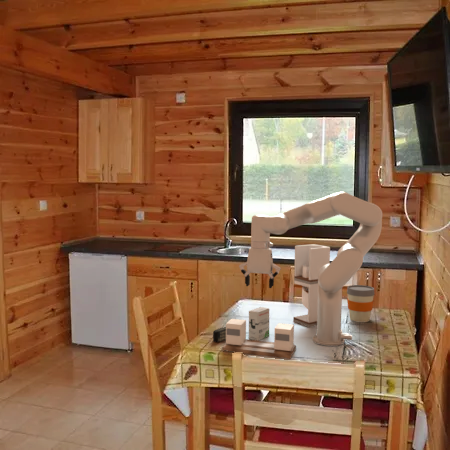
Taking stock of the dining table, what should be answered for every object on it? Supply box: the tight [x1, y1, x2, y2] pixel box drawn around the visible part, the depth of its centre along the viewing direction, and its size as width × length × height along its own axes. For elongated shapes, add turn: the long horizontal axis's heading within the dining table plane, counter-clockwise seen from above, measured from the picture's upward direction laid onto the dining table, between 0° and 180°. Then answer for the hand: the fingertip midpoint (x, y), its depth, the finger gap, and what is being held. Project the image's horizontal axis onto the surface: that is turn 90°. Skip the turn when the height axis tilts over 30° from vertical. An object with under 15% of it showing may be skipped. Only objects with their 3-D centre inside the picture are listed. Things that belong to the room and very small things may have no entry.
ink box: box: [248, 306, 270, 341], centre depth 216 cm, size 9×5×12 cm, turn 141°
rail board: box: [222, 338, 297, 360], centre depth 201 cm, size 26×12×2 cm, turn 72°
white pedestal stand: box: [292, 243, 331, 328], centre depth 237 cm, size 11×11×35 cm
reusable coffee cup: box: [346, 284, 376, 323], centre depth 244 cm, size 13×13×15 cm
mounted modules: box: [225, 318, 295, 351], centre depth 200 cm, size 25×7×8 cm, turn 72°
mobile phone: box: [212, 326, 226, 343], centre depth 215 cm, size 5×3×15 cm
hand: (259, 286), depth 215 cm, fingers open, 9 cm apart
